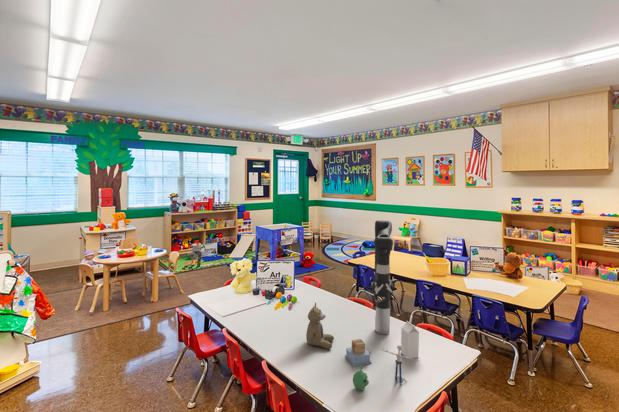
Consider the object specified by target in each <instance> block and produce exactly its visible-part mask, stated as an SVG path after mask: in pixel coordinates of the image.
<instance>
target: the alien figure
mask: <svg viewBox="0 0 619 412" xmlns="http://www.w3.org/2000/svg"><path fill="white" fill-rule="evenodd" d="M396 349H397V353H394V352H391V351H388V350H386V349H385V348H381V349H380V350H381V351H382V352H385V353H389V354H391V355H394V356H396V359H395V373H394V374H395V376H394V382H395V383H398V382H399V385H402V384H403V382H405V383H406V382H407V383H408V380H406V379H405V378H404V377H402V364H403V362H402V361H401V360H402V358H404V359H407V360H411V361H413V362H418V359H417V357H415V358H408V357H405V356H404V355H403V354H402V355H401V349H402V348H401V344H398V345H397V347H396ZM398 372H399V373H398ZM398 374H399V376H398Z"/></svg>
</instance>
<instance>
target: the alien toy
mask: <svg viewBox="0 0 619 412" xmlns="http://www.w3.org/2000/svg"><path fill="white" fill-rule="evenodd" d="M359 369H360V370H357V371H355V372H354V373H353V376H352V384H353V387H354V388H355V389H357V390H358V391H363V390H365V388H366V387H367V386H368V385H369V383H370V381H369V379H368V375H367V373H366V372H365V371H363V370H362V369H363V365H360V366H359Z"/></svg>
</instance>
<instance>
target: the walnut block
mask: <svg viewBox="0 0 619 412" xmlns="http://www.w3.org/2000/svg"><path fill="white" fill-rule="evenodd" d="M351 347H352V350H353V351H354V353H355V354H361V353H365V349H366V343H365V342H364V340H363V339H361V338H357V339H352V340H351Z"/></svg>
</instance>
